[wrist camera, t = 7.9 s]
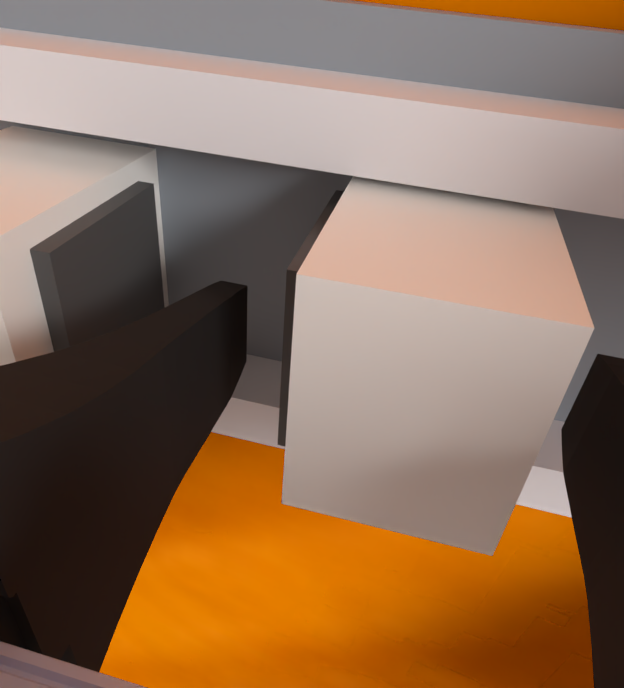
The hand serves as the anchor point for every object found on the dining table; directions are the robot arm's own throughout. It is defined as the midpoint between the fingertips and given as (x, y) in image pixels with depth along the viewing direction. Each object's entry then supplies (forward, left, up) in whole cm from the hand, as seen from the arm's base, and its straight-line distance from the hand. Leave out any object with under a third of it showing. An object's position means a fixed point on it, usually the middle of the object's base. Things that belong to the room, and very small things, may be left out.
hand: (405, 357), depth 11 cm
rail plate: (+3, 0, -4) cm, 5 cm away
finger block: (0, -1, -3) cm, 3 cm away
